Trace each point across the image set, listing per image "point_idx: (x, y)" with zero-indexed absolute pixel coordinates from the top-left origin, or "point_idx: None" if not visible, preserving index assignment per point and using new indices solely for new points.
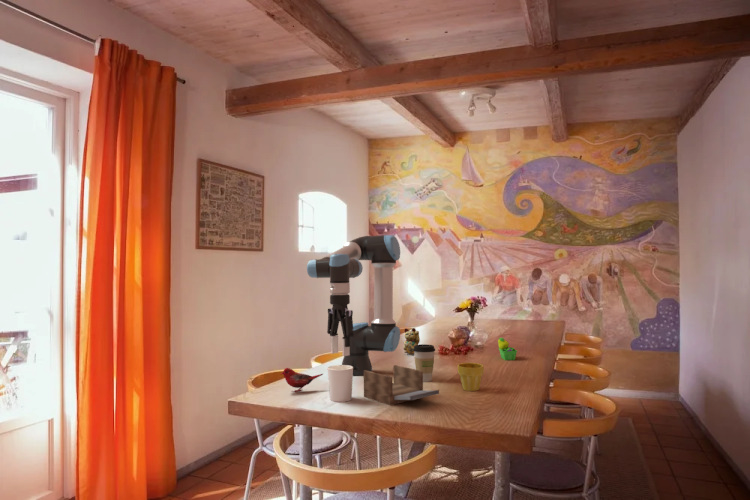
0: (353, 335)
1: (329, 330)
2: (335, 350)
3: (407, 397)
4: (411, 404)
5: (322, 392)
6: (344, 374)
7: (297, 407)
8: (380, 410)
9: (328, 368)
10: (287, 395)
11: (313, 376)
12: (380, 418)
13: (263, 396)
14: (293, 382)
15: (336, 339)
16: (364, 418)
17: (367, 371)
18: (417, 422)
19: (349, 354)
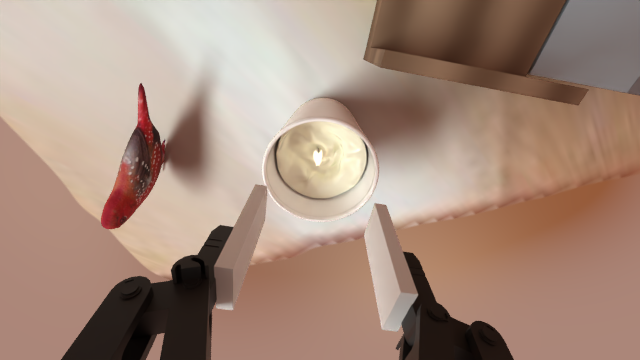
0: (499, 337)
1: (149, 350)
2: (262, 211)
3: (608, 89)
4: None
5: (217, 111)
6: (366, 187)
7: (298, 239)
8: (493, 144)
9: (296, 215)
10: (185, 193)
11: (143, 124)
12: (521, 192)
13: (159, 230)
14: (152, 186)
15: (242, 256)
16: (483, 211)
17: (409, 69)
18: (628, 164)
19: (386, 208)
